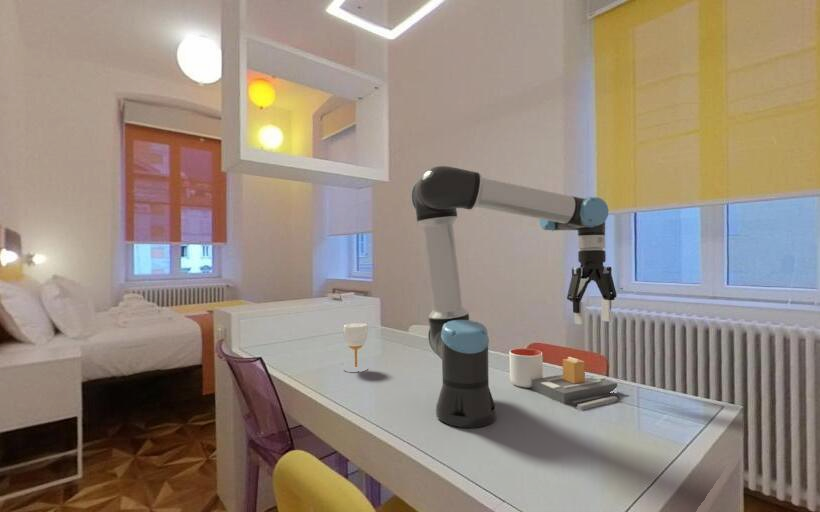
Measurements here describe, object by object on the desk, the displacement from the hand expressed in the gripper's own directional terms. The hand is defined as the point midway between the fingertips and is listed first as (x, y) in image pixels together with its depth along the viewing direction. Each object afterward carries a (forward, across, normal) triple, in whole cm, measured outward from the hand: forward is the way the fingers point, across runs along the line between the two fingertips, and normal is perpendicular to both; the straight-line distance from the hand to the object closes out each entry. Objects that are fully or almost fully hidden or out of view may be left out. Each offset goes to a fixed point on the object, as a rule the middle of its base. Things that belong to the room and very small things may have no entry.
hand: (592, 322), depth 121 cm
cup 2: (+20, -60, +51) cm, 82 cm away
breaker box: (+20, -8, 0) cm, 21 cm away
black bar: (+20, -9, -9) cm, 23 cm away
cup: (+20, -16, +12) cm, 28 cm away
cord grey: (+20, -10, -10) cm, 25 cm away
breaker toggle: (+17, -8, 0) cm, 18 cm away
